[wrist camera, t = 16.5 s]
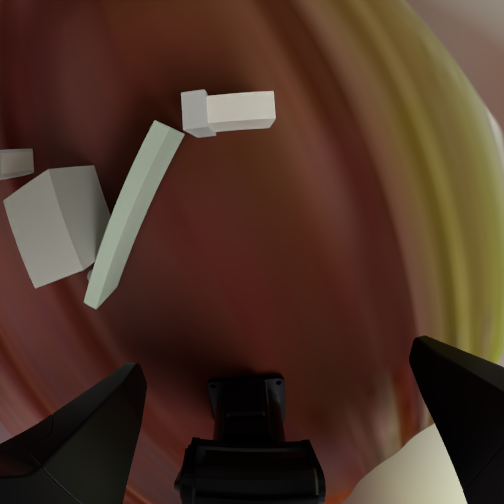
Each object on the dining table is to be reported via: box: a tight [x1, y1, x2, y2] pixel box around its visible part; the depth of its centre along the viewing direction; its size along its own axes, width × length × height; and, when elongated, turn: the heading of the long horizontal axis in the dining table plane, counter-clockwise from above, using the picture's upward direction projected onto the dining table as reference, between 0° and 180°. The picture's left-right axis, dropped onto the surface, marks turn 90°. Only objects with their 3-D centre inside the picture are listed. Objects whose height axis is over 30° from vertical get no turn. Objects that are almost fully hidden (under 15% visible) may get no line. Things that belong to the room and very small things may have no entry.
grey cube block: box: [3, 165, 111, 289], centre depth 16 cm, size 6×5×6 cm
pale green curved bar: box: [84, 120, 185, 309], centre depth 17 cm, size 12×2×4 cm, turn 151°
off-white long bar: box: [0, 89, 276, 180], centre depth 15 cm, size 2×22×4 cm, turn 94°
